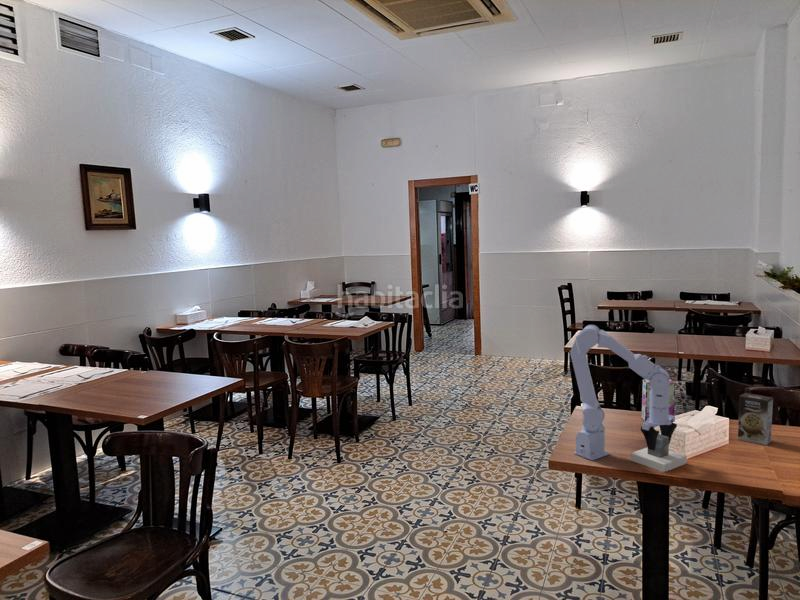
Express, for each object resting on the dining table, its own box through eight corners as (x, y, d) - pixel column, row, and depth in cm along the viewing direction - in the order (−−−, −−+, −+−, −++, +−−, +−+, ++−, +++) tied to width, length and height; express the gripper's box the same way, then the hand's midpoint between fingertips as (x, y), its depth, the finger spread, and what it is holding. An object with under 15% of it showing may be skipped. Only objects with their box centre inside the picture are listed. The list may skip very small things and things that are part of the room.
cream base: (664, 472, 176) (664, 464, 176) (630, 460, 186) (630, 453, 186) (686, 463, 182) (686, 455, 182) (653, 452, 193) (653, 445, 192)
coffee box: (737, 439, 202) (738, 395, 200) (743, 435, 206) (744, 392, 204) (766, 445, 195) (767, 400, 193) (772, 441, 199) (773, 396, 198)
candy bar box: (645, 422, 223) (645, 382, 221) (641, 418, 228) (641, 379, 226) (674, 422, 222) (675, 382, 220) (670, 418, 227) (670, 378, 225)
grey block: (660, 458, 181) (660, 440, 181) (647, 453, 185) (647, 436, 184) (668, 454, 184) (668, 437, 183) (655, 450, 187) (656, 433, 187)
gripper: (656, 413, 175) (656, 455, 177) (684, 405, 183) (683, 445, 184) (636, 408, 181) (636, 448, 183) (664, 400, 189) (663, 439, 190)
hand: (658, 446), depth 184 cm, fingers open, 7 cm apart
